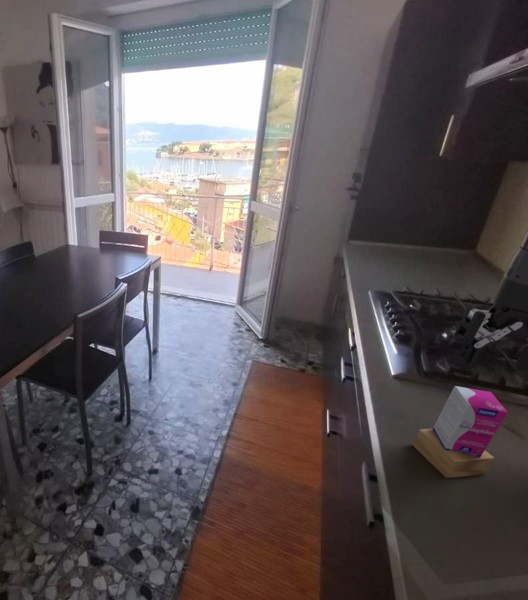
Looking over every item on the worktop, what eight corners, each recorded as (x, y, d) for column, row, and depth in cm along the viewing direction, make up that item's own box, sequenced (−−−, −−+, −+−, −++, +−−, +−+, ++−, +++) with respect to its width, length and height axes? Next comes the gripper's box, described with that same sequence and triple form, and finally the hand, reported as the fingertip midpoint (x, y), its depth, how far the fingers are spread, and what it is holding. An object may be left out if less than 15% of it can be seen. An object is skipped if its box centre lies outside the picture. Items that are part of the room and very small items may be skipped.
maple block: (447, 441, 75) (455, 426, 73) (484, 474, 68) (494, 457, 66) (412, 445, 75) (419, 429, 73) (446, 478, 68) (455, 461, 66)
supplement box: (444, 451, 68) (468, 404, 63) (431, 428, 73) (452, 384, 68) (482, 459, 66) (509, 411, 61) (466, 435, 71) (490, 390, 66)
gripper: (504, 286, 53) (462, 374, 60) (620, 290, 50) (562, 382, 57) (469, 268, 59) (435, 350, 66) (570, 271, 57) (524, 356, 64)
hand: (494, 365), depth 62 cm, fingers open, 8 cm apart
